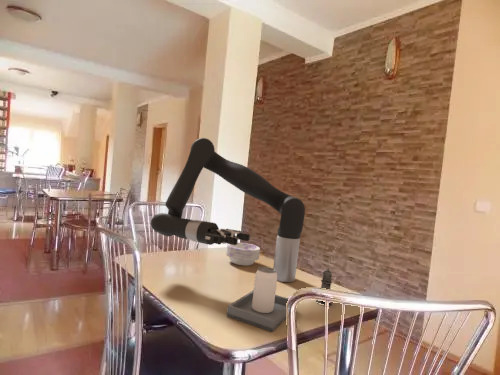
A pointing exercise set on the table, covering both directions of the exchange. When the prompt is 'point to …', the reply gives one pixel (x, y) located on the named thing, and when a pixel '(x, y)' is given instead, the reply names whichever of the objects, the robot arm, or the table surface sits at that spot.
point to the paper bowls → (243, 253)
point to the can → (264, 290)
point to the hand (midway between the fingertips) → (243, 239)
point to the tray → (265, 321)
